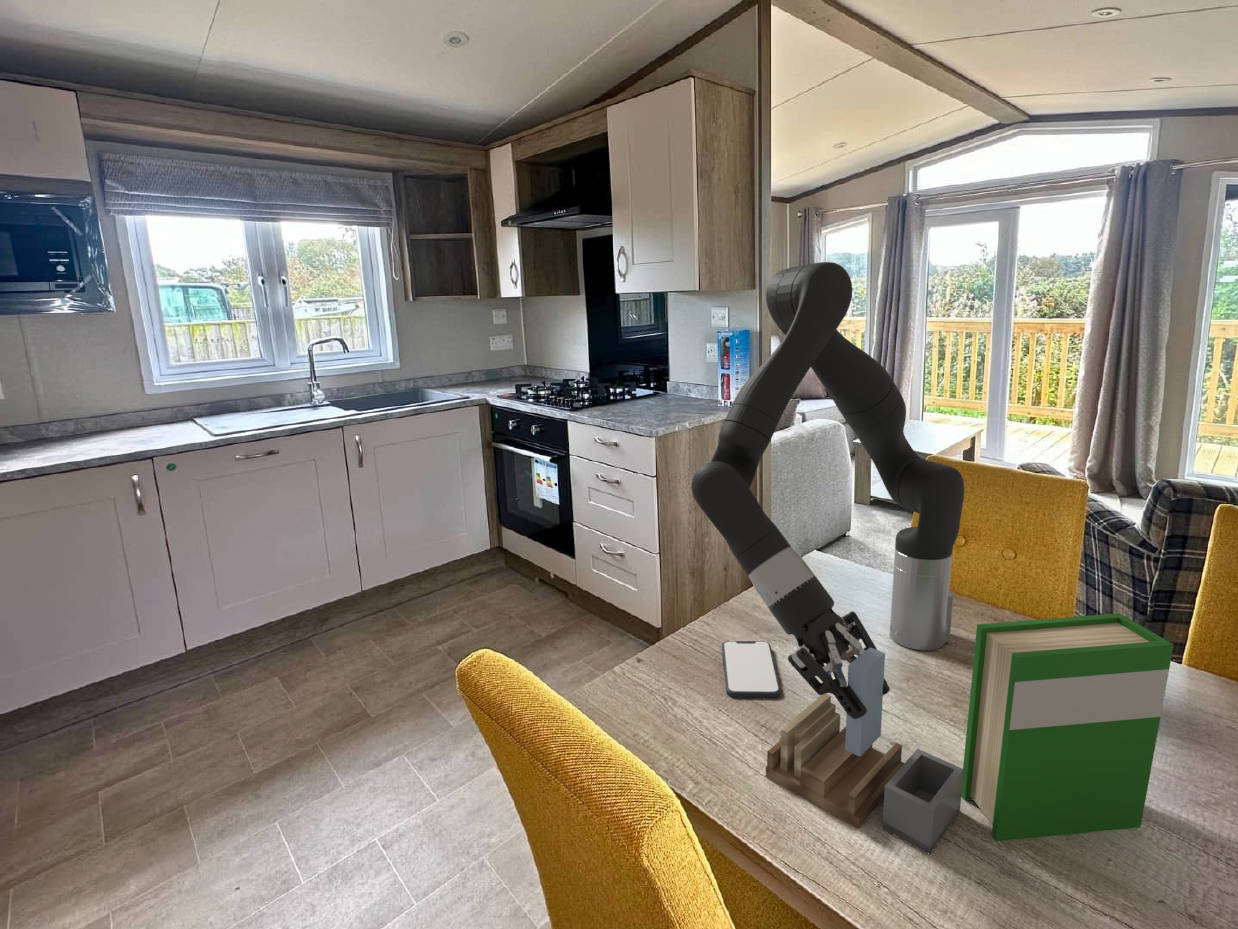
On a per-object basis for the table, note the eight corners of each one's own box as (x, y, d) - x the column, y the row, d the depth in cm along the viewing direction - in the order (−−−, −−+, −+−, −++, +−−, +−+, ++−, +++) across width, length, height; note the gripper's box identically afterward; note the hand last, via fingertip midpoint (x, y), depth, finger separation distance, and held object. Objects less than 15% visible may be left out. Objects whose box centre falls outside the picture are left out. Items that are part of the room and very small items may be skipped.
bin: (882, 828, 80) (884, 786, 79) (914, 788, 86) (917, 748, 85) (929, 854, 76) (933, 810, 75) (959, 810, 82) (964, 769, 81)
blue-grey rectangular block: (845, 749, 84) (848, 665, 81) (865, 728, 88) (869, 647, 85) (860, 757, 83) (863, 671, 80) (880, 735, 86) (885, 653, 83)
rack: (765, 776, 90) (766, 750, 89) (816, 730, 98) (817, 706, 97) (858, 828, 80) (860, 800, 79) (905, 773, 89) (907, 747, 88)
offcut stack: (780, 768, 89) (781, 729, 87) (823, 729, 96) (824, 693, 95) (800, 779, 87) (801, 739, 85) (842, 738, 94) (844, 701, 93)
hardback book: (996, 841, 78) (1017, 657, 72) (960, 795, 85) (977, 624, 79) (1140, 827, 79) (1173, 644, 73) (1092, 783, 86) (1119, 613, 80)
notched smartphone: (782, 702, 107) (770, 648, 122) (782, 693, 106) (770, 640, 121) (726, 701, 107) (721, 648, 123) (726, 692, 107) (721, 640, 122)
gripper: (776, 596, 81) (866, 722, 76) (836, 559, 91) (920, 669, 85) (741, 621, 86) (823, 742, 81) (801, 584, 96) (878, 689, 90)
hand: (872, 704), depth 83 cm, fingers closed on blue-grey rectangular block, 5 cm apart
